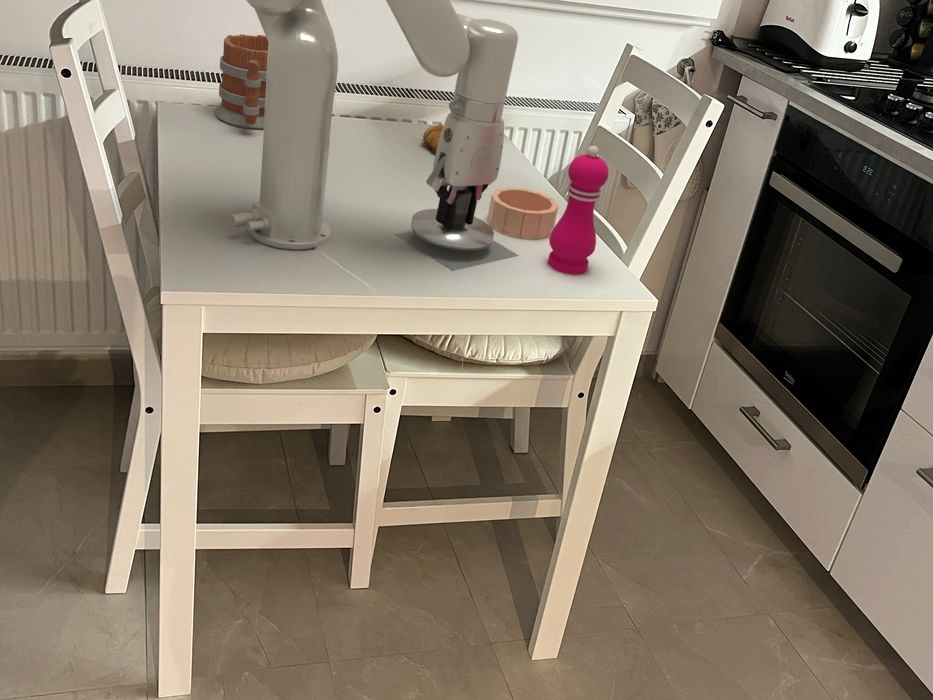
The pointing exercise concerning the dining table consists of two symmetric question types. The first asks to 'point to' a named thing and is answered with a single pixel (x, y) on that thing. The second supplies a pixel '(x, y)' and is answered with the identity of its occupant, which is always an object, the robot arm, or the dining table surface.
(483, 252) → the mat
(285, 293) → the dining table surface
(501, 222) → the bowl
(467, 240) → the lid
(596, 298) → the dining table surface
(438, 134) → the croissant
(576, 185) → the pepper mill
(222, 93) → the mug
